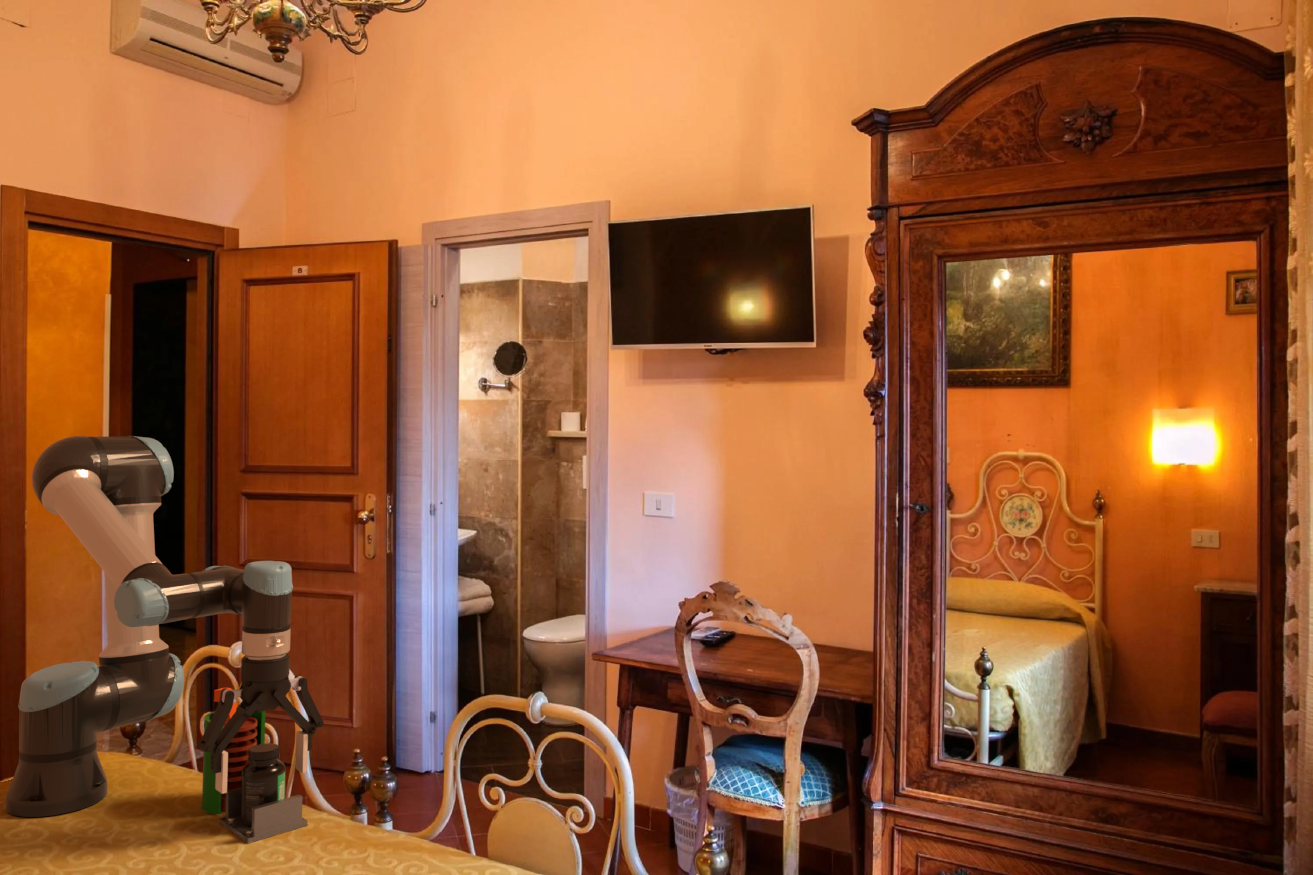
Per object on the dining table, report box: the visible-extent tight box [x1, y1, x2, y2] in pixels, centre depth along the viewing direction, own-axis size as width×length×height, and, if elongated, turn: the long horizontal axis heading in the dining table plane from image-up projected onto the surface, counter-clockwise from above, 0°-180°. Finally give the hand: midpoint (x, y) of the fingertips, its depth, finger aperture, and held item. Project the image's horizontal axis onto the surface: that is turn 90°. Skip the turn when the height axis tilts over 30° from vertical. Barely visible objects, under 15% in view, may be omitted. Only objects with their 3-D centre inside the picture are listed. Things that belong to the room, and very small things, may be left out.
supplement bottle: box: [241, 742, 286, 826], centre depth 159 cm, size 7×7×12 cm
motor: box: [201, 687, 267, 815], centre depth 167 cm, size 10×9×20 cm
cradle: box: [219, 787, 308, 844], centre depth 159 cm, size 11×10×5 cm
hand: (262, 780), depth 159 cm, fingers open, 13 cm apart
